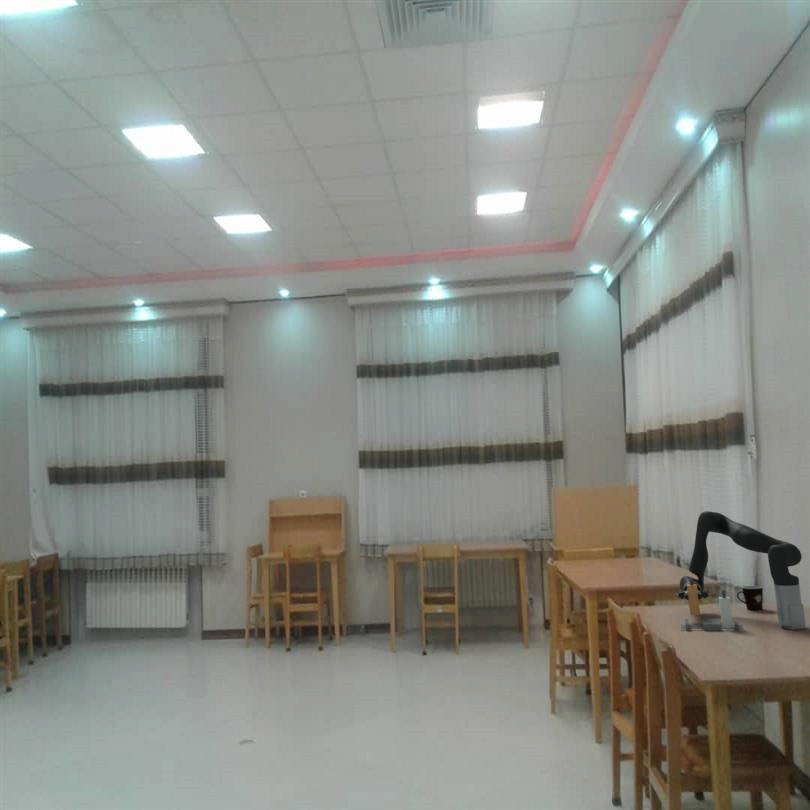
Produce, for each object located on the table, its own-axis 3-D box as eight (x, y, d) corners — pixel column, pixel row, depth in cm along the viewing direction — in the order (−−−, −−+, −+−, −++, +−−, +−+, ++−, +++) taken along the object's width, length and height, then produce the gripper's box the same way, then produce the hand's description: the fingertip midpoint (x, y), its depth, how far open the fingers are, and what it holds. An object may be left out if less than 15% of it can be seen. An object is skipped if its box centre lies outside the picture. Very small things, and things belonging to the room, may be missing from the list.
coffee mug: (762, 607, 348) (760, 585, 349) (766, 611, 340) (764, 588, 341) (735, 608, 351) (733, 586, 352) (739, 611, 343) (736, 589, 344)
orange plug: (700, 612, 323) (695, 576, 324) (700, 614, 319) (696, 578, 321) (690, 612, 324) (685, 577, 326) (690, 614, 320) (686, 578, 322)
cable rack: (742, 627, 312) (741, 618, 312) (745, 633, 301) (744, 624, 301) (680, 627, 320) (680, 618, 320) (681, 633, 308) (680, 624, 309)
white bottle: (732, 626, 309) (728, 589, 311) (733, 628, 306) (728, 591, 307) (721, 626, 311) (717, 589, 312) (722, 628, 307) (718, 591, 308)
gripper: (674, 582, 339) (674, 588, 322) (708, 581, 334) (710, 587, 318) (676, 600, 338) (676, 606, 322) (710, 599, 333) (712, 605, 317)
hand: (693, 597), depth 320 cm, fingers closed on orange plug, 4 cm apart
